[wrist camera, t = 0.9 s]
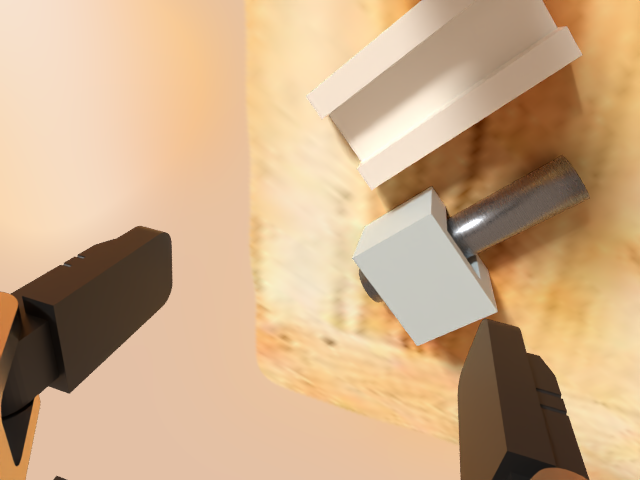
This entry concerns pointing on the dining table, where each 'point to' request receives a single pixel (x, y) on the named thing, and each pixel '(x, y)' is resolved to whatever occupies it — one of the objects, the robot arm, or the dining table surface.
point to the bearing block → (424, 270)
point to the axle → (511, 210)
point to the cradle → (439, 77)
